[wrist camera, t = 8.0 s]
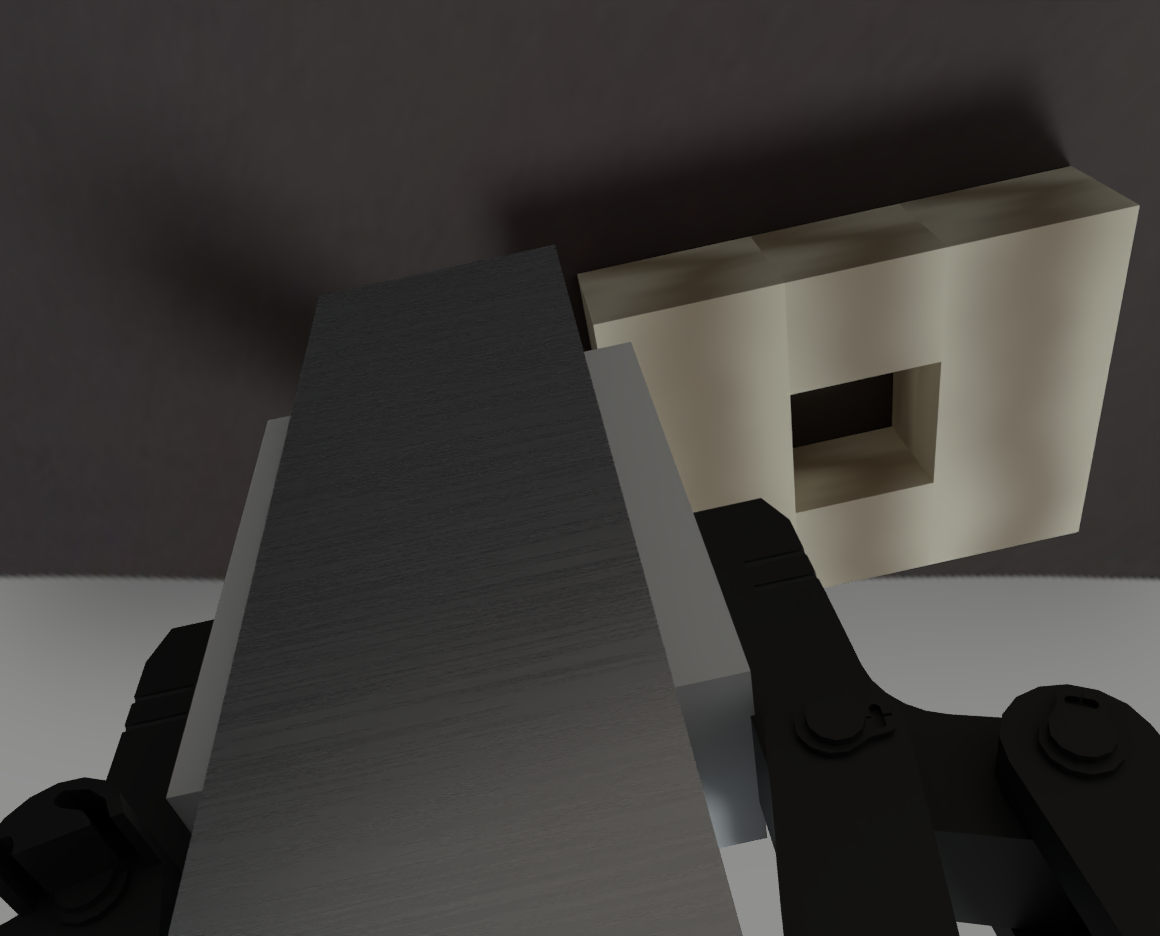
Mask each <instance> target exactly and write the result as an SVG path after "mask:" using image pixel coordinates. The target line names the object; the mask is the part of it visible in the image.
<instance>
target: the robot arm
mask: <svg viewBox="0 0 1160 936" xmlns="http://www.w3.org/2000/svg"><path fill="white" fill-rule="evenodd" d="M584 354H585V358H586V361H587V365H588V369H589V372H590V376H591V380H592V383H593V387H594V391H595V395H596V398H597V402H598V406H599V409H600V413H601V417H602V420H603V424H604V428H605V431H606V435H607V439H608V442H609V446H610V450H611V453H612V457H613V461H614V464H615V468H616V472H617V475H618V479H619V483H620V486H621V490H622V494H623V498H624V501H625V505H626V509H627V512H628V516H629V520H630V523H631V527H632V531H633V534H634V538H635V542H636V545H637V549H638V553H639V556H640V560H641V564H642V567H643V571H644V575H645V578H646V582H647V586H648V589H649V593H650V597H651V601H652V604H653V608H654V612H655V615H656V619H657V623H658V626H659V630H660V634H661V637H662V641H663V645H664V648H665V652H666V656H667V659H668V663H669V667H670V670H671V674H672V678H673V681H674V685H675V689H676V692H677V696H678V700H679V704H680V707H681V711H682V715H683V718H684V722H685V726H686V729H687V733H688V737H689V740H690V744H691V748H692V751H693V755H694V759H695V762H696V766H697V770H698V773H699V777H700V781H701V784H702V788H703V792H704V795H705V799H706V803H707V807H708V810H709V814H710V818H711V821H712V825H713V829H714V832H715V836H716V840H717V843H718V847H719V848H721V847H727V846H731V845H735V844H740V843H745V842H749V841H754V840H758V839H763V838H767V832H766V824H767V827H768V830H769V833H770V836H771V840H772V843H773V846H774V849H775V852H776V858H777V859H776V860H777V870H778V881H779V892H780V903H781V914H782V922H783V933H784V936H959V932H958V928H957V924H956V922H964V923H972V924H981V925H989V926H992V928H993V930H994V931H995V933H996V935H997V936H1160V735H1159V734H1158V732H1157V731H1156V730H1155V729H1154V727H1153V726H1152V725H1151V724H1150V723H1149V722H1148V721H1146V720H1145V719H1144V718H1143V717H1142V716H1141V715H1140V714H1138V713H1137V712H1136V711H1135V710H1134V709H1133V708H1132V707H1130V706H1129V705H1128V704H1126V703H1124V702H1122V701H1120V700H1118V699H1116V698H1114V697H1112V696H1110V695H1107V694H1105V693H1103V692H1101V691H1099V690H1095V689H1089V688H1084V687H1079V686H1073V685H1068V684H1065V685H1053V686H1042V687H1037V688H1035V689H1033V690H1031V691H1029V692H1026V693H1024V694H1022V695H1020V696H1018V697H1016V698H1015V699H1014V701H1013V702H1012V703H1011V704H1010V706H1009V707H1008V708H1007V709H1006V711H1005V712H1004V713H1003V714H1002V718H999V717H983V716H967V715H952V714H943V713H937V712H930V711H925V710H922V709H919V708H916V707H913V706H910V705H907V704H905V703H903V702H901V701H899V700H898V699H896V698H894V697H892V696H891V695H889V694H887V693H886V692H885V691H883V690H882V689H881V688H880V687H879V686H878V685H877V684H876V683H875V682H873V681H872V680H871V678H870V677H869V675H868V674H867V672H866V671H865V669H864V668H863V666H862V665H861V663H860V661H859V659H858V657H857V655H856V653H855V651H854V649H853V647H852V645H851V643H850V641H849V639H848V637H847V635H846V633H845V631H844V628H843V626H842V624H841V622H840V620H839V619H838V616H837V614H836V612H835V610H834V608H833V606H832V604H831V602H830V600H829V598H828V596H827V594H826V592H825V590H824V588H823V586H822V584H821V582H820V580H819V578H818V579H817V576H816V572H815V570H814V568H813V566H812V564H811V562H810V560H809V558H808V556H807V554H805V552H804V548H803V546H802V544H801V542H800V540H799V537H798V535H797V533H796V531H795V529H794V527H793V525H792V523H791V521H790V519H788V518H787V517H786V516H784V515H783V514H782V513H780V512H779V511H778V510H776V509H775V508H774V507H773V506H771V505H770V504H769V503H767V502H766V501H765V500H763V499H762V498H758V499H753V500H749V501H744V502H740V503H735V504H730V505H726V506H721V507H717V508H712V509H707V510H703V511H698V512H694V513H693V511H692V509H691V506H690V503H689V500H688V498H687V495H686V492H685V489H684V487H683V484H682V481H681V478H680V476H679V473H678V470H677V467H676V464H675V462H674V459H673V456H672V453H671V451H670V448H669V445H668V442H667V440H666V437H665V434H664V431H663V429H662V426H661V423H660V420H659V418H658V415H657V412H656V409H655V407H654V404H653V401H652V398H651V396H650V393H649V390H648V387H647V385H646V382H645V379H644V376H643V374H642V371H641V368H640V365H639V363H638V360H637V357H636V354H635V352H634V349H633V346H632V343H631V342H627V343H623V344H618V345H613V346H609V347H604V348H600V349H595V350H590V351H586V352H584ZM290 417H291V416H287V417H282V418H278V419H273V420H269V421H268V423H267V426H266V430H265V434H264V437H263V441H262V445H261V449H260V452H259V456H258V460H257V463H256V467H255V471H254V474H253V478H252V482H251V486H250V489H249V493H248V497H247V500H246V504H245V508H244V511H243V515H242V519H241V523H240V526H239V530H238V534H237V537H236V541H235V545H234V548H233V552H232V556H231V560H230V563H229V567H228V571H227V574H226V578H225V582H224V585H223V589H222V593H221V597H220V600H219V604H218V608H217V612H216V615H215V619H214V620H210V621H205V622H201V623H196V624H191V625H186V626H182V627H178V628H173V629H171V631H170V632H169V633H168V635H167V636H166V637H165V638H164V640H163V641H162V642H161V644H160V645H159V646H158V647H157V649H156V650H155V651H154V653H153V654H152V655H151V656H150V658H149V659H148V660H147V662H146V664H145V666H144V670H143V672H142V676H141V678H140V681H139V684H138V687H137V690H136V694H135V696H134V697H135V703H133V704H132V705H131V708H130V711H129V714H128V717H127V720H126V723H125V727H126V732H123V733H122V735H121V738H120V741H119V744H118V747H117V750H116V753H115V756H114V759H113V762H112V765H111V768H110V771H109V773H108V776H107V779H106V781H105V780H99V779H92V778H85V777H84V778H79V779H75V780H71V781H66V782H61V783H57V784H56V785H54V786H52V787H50V788H48V789H46V790H44V791H42V792H40V793H38V794H36V795H34V796H32V797H30V798H29V799H28V800H26V801H25V802H24V803H23V804H22V805H20V806H19V807H18V808H16V809H15V810H14V811H13V812H12V813H10V814H9V815H8V816H7V817H5V818H4V819H3V821H2V822H1V823H0V897H1V898H2V899H3V900H4V901H5V902H6V903H7V904H8V905H9V906H10V907H11V908H12V909H13V910H14V911H15V912H16V913H17V914H18V915H17V916H16V917H14V918H13V919H11V920H9V921H8V922H6V923H4V924H2V925H0V936H168V933H169V929H170V925H171V921H172V916H173V912H174V908H175V904H176V899H177V895H178V891H179V887H180V882H181V878H182V874H183V870H184V866H185V861H186V857H187V853H188V849H189V844H190V840H191V836H192V832H193V827H194V823H195V819H196V815H197V810H198V806H199V802H200V798H201V794H202V789H203V785H204V781H205V777H206V772H207V768H208V764H209V760H210V755H211V751H212V747H213V743H214V739H215V734H216V730H217V726H218V722H219V717H220V713H221V709H222V705H223V700H224V696H225V692H226V688H227V683H228V679H229V675H230V671H231V667H232V662H233V658H234V654H235V650H236V645H237V641H238V637H239V633H240V628H241V624H242V620H243V616H244V611H245V607H246V603H247V599H248V595H249V590H250V586H251V582H252V578H253V573H254V569H255V565H256V561H257V556H258V552H259V548H260V544H261V540H262V535H263V531H264V527H265V523H266V518H267V514H268V510H269V506H270V501H271V497H272V493H273V489H274V484H275V480H276V476H277V472H278V468H279V463H280V459H281V455H282V451H283V446H284V442H285V438H286V434H287V429H288V425H289V421H290ZM765 821H766V822H765Z"/></svg>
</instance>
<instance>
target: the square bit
mask: <svg viewBox="0 0 1160 936" xmlns="http://www.w3.org/2000/svg"><path fill="white" fill-rule="evenodd" d="M168 936H743V935H742V932H741V928H740V924H739V921H738V917H737V913H736V910H735V906H734V902H733V898H732V895H731V891H730V888H729V884H728V880H727V876H726V873H725V869H724V865H723V862H722V858H721V855H720V851H719V847H718V843H717V840H716V836H715V832H714V829H713V825H712V821H711V818H710V814H709V810H708V807H707V803H706V799H705V795H704V792H703V788H702V784H701V781H700V777H699V773H698V770H697V766H696V762H695V759H694V755H693V751H692V748H691V744H690V740H689V737H688V733H687V729H686V726H685V722H684V718H683V715H682V711H681V707H680V704H679V700H678V696H677V692H676V689H675V685H674V681H673V678H672V674H671V670H670V667H669V663H668V659H667V656H666V652H665V648H664V645H663V641H662V637H661V634H660V630H659V626H658V623H657V619H656V615H655V612H654V608H653V604H652V601H651V597H650V593H649V589H648V586H647V582H646V578H645V575H644V571H643V567H642V564H641V560H640V556H639V553H638V549H637V545H636V542H635V538H634V534H633V531H632V527H631V523H630V520H629V516H628V512H627V509H626V505H625V501H624V498H623V494H622V490H621V486H620V483H619V479H618V475H617V472H616V468H615V464H614V461H613V457H612V453H611V450H610V446H609V442H608V439H607V435H606V431H605V428H604V424H603V420H602V417H601V413H600V409H599V406H598V402H597V398H596V395H595V391H594V387H593V383H592V380H591V376H590V372H589V369H588V365H587V361H586V358H585V354H584V350H583V347H582V343H581V339H580V336H579V332H578V328H577V325H576V321H575V317H574V314H573V310H572V306H571V303H570V299H569V295H568V292H567V288H566V284H565V280H564V277H563V273H562V269H561V266H560V262H559V258H558V255H557V251H556V247H555V245H550V246H546V247H541V248H537V249H532V250H527V251H523V252H518V253H514V254H509V255H504V256H500V257H495V258H491V259H486V260H481V261H477V262H472V263H468V264H463V265H458V266H454V267H449V268H445V269H440V270H435V271H431V272H426V273H422V274H417V275H412V276H408V277H403V278H399V279H394V280H389V281H385V282H380V283H376V284H371V285H366V286H362V287H357V288H353V289H348V290H343V291H339V292H334V293H330V294H325V295H320V296H319V298H318V302H317V307H316V311H315V315H314V319H313V324H312V328H311V332H310V336H309V341H308V345H307V349H306V353H305V357H304V362H303V366H302V370H301V374H300V379H299V383H298V387H297V391H296V396H295V400H294V404H293V408H292V413H291V417H290V421H289V425H288V429H287V434H286V438H285V442H284V446H283V451H282V455H281V459H280V463H279V468H278V472H277V476H276V480H275V484H274V489H273V493H272V497H271V501H270V506H269V510H268V514H267V518H266V523H265V527H264V531H263V535H262V540H261V544H260V548H259V552H258V556H257V561H256V565H255V569H254V573H253V578H252V582H251V586H250V590H249V595H248V599H247V603H246V607H245V611H244V616H243V620H242V624H241V628H240V633H239V637H238V641H237V645H236V650H235V654H234V658H233V662H232V667H231V671H230V675H229V679H228V683H227V688H226V692H225V696H224V700H223V705H222V709H221V713H220V717H219V722H218V726H217V730H216V734H215V739H214V743H213V747H212V751H211V755H210V760H209V764H208V768H207V772H206V777H205V781H204V785H203V789H202V794H201V798H200V802H199V806H198V810H197V815H196V819H195V823H194V827H193V832H192V836H191V840H190V844H189V849H188V853H187V857H186V861H185V866H184V870H183V874H182V878H181V882H180V887H179V891H178V895H177V899H176V904H175V908H174V912H173V916H172V921H171V925H170V929H169V933H168Z"/></svg>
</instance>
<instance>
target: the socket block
mask: <svg viewBox="0 0 1160 936" xmlns="http://www.w3.org/2000/svg"><path fill="white" fill-rule="evenodd" d="M1139 206H1140V205H1138V204H1137V203H1135V202H1133V201H1131V200H1130V199H1128V198H1126V197H1124V196H1123V195H1121V194H1119V193H1117V192H1116V191H1114V190H1112V189H1110V188H1109V187H1107V186H1105V185H1103V184H1102V183H1100V182H1098V181H1096V180H1095V179H1093V178H1091V177H1089V176H1088V175H1086V174H1084V173H1082V172H1081V171H1079V170H1077V169H1075V168H1074V167H1072V166H1069V167H1064V168H1060V169H1055V170H1051V171H1046V172H1041V173H1037V174H1032V175H1028V176H1023V177H1019V178H1014V179H1009V180H1005V181H1000V182H996V183H991V184H987V185H982V186H977V187H973V188H968V189H964V190H959V191H955V192H950V193H945V194H941V195H936V196H932V197H927V198H923V199H918V200H913V201H909V202H904V203H900V204H895V205H891V206H886V207H881V208H877V209H872V210H868V211H863V212H859V213H854V214H850V215H845V216H840V217H836V218H831V219H827V220H822V221H818V222H813V223H808V224H804V225H799V226H795V227H790V228H786V229H781V230H776V231H772V232H767V233H763V234H758V235H754V236H749V237H744V238H740V239H735V240H731V241H726V242H722V243H717V244H712V245H708V246H703V247H699V248H694V249H690V250H685V251H680V252H676V253H671V254H667V255H662V256H658V257H653V258H648V259H644V260H639V261H635V262H630V263H626V264H621V265H616V266H612V267H607V268H603V269H598V270H594V271H589V272H584V273H580V274H577V276H578V281H579V286H580V292H581V297H582V302H583V308H584V313H585V318H586V324H587V329H588V334H589V339H590V345H591V350H595V349H600V348H604V347H609V346H613V345H618V344H623V343H627V342H631V343H632V346H633V349H634V352H635V354H636V357H637V360H638V363H639V365H640V368H641V371H642V374H643V376H644V379H645V382H646V385H647V387H648V390H649V393H650V396H651V398H652V401H653V404H654V407H655V409H656V412H657V415H658V418H659V420H660V423H661V426H662V429H663V431H664V434H665V437H666V440H667V442H668V445H669V448H670V451H671V453H672V456H673V459H674V462H675V464H676V467H677V470H678V473H679V476H680V478H681V481H682V484H683V487H684V489H685V492H686V495H687V498H688V500H689V503H690V506H691V509H692V511H693V513H694V512H698V511H703V510H707V509H712V508H717V507H721V506H726V505H730V504H735V503H740V502H744V501H749V500H753V499H758V498H762V499H763V500H765V501H766V502H767V503H769V504H770V505H771V506H773V507H774V508H775V509H776V510H778V511H779V512H780V513H782V514H783V515H784V516H786V517H787V518H788V519H790V521H791V523H792V525H793V527H794V529H795V531H796V533H797V535H798V537H799V540H800V542H801V544H802V546H803V548H804V552H805V554H807V556H808V558H809V560H810V562H811V564H812V566H813V568H814V570H815V572H816V576H817V579H818V578H819V580H820V582H821V584H822V586H823V588H826V587H831V586H835V585H839V584H844V583H849V582H853V581H858V580H863V579H867V578H872V577H876V576H881V575H885V574H890V573H894V572H899V571H903V570H908V569H912V568H917V567H921V566H926V565H930V564H935V563H939V562H944V561H948V560H953V559H957V558H962V557H967V556H971V555H976V554H980V553H985V552H989V551H994V550H998V549H1003V548H1007V547H1012V546H1016V545H1021V544H1025V543H1030V542H1034V541H1039V540H1043V539H1048V538H1052V537H1057V536H1061V535H1066V534H1071V533H1075V532H1078V531H1079V526H1080V520H1081V515H1082V510H1083V504H1084V499H1085V494H1086V488H1087V483H1088V478H1089V472H1090V467H1091V462H1092V456H1093V451H1094V446H1095V440H1096V435H1097V430H1098V424H1099V419H1100V414H1101V408H1102V403H1103V398H1104V392H1105V387H1106V382H1107V376H1108V371H1109V366H1110V360H1111V355H1112V350H1113V344H1114V339H1115V334H1116V328H1117V323H1118V318H1119V313H1120V307H1121V302H1122V297H1123V291H1124V286H1125V281H1126V275H1127V270H1128V265H1129V259H1130V254H1131V249H1132V243H1133V238H1134V233H1135V227H1136V222H1137V217H1138V211H1139ZM892 372H893V405H892V426H891V427H887V428H882V429H878V430H873V431H869V432H864V433H860V434H855V435H851V436H846V437H841V438H837V439H832V440H828V441H823V442H819V443H814V444H810V445H805V446H801V447H796V448H793V445H792V424H791V403H790V395H792V394H797V393H801V392H806V391H810V390H815V389H819V388H824V387H829V386H833V385H838V384H842V383H847V382H851V381H856V380H860V379H865V378H869V377H874V376H879V375H883V374H888V373H892Z"/></svg>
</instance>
